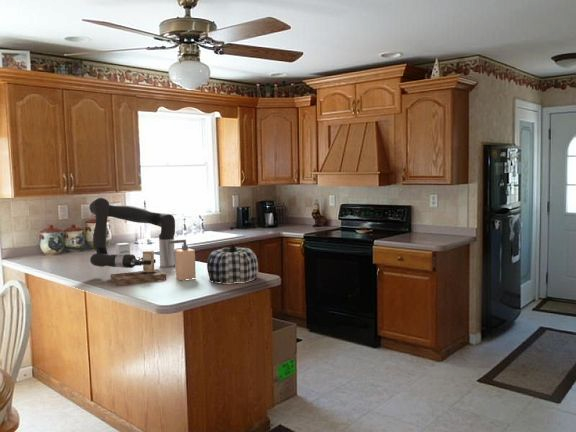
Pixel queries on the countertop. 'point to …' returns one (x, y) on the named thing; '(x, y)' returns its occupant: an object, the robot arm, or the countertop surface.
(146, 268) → the birch peg
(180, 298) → the countertop surface
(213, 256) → the decorative pumpkin
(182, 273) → the soap dispenser
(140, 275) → the walnut keyhole board
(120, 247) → the supplement box
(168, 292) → the countertop surface
